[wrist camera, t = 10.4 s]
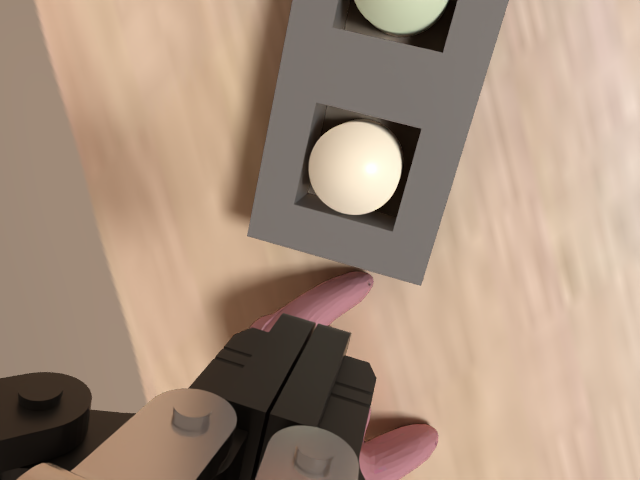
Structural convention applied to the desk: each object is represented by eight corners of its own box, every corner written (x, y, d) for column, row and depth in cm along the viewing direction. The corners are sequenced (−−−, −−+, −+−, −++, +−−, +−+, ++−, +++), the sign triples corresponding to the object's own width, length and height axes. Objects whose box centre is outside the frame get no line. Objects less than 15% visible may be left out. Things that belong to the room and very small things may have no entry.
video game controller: (305, 272, 28) (203, 344, 23) (375, 258, 25) (275, 338, 20) (377, 436, 30) (297, 536, 25) (451, 442, 26) (377, 559, 21)
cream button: (391, 212, 24) (386, 225, 22) (312, 190, 24) (300, 201, 22) (413, 130, 23) (411, 135, 21) (331, 109, 23) (319, 112, 21)
